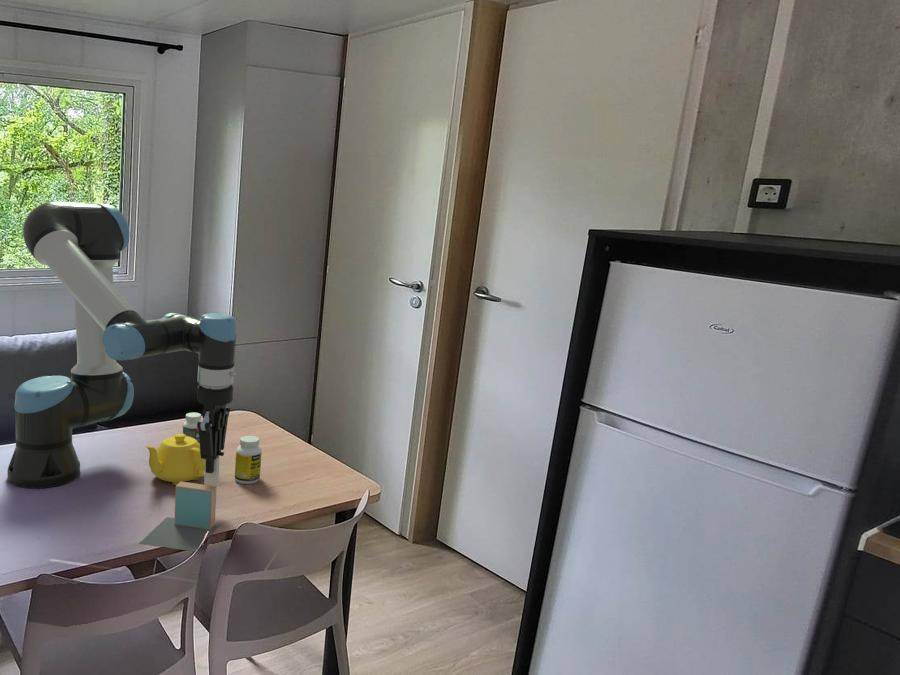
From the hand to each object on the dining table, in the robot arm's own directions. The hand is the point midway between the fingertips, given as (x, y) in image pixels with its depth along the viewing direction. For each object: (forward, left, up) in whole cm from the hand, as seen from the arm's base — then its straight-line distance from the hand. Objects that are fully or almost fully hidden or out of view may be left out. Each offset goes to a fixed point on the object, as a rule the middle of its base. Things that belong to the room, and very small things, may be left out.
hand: (211, 483), depth 162 cm
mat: (-1, -13, -6) cm, 14 cm away
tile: (0, -8, -6) cm, 10 cm away
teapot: (-13, +13, -7) cm, 20 cm away
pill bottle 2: (+2, +18, -7) cm, 20 cm away
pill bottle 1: (-20, +35, -7) cm, 41 cm away
